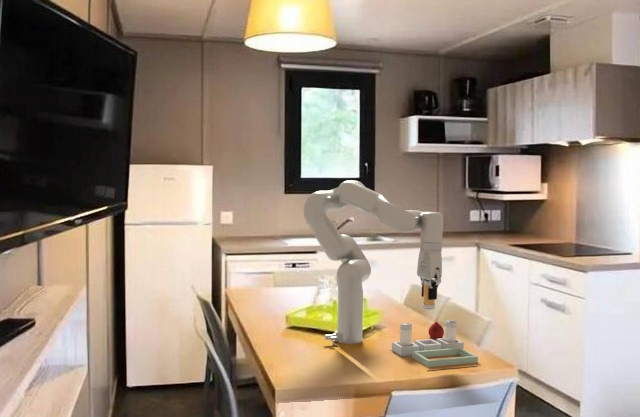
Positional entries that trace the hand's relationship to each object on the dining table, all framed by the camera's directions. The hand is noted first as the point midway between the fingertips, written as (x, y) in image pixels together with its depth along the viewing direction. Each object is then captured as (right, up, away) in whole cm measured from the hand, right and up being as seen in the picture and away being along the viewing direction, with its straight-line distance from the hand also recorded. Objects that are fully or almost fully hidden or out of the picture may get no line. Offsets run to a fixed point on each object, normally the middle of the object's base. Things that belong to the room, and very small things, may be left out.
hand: (429, 297), depth 218 cm
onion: (+6, -20, +19) cm, 28 cm away
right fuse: (+8, -19, +4) cm, 21 cm away
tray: (+3, -21, -10) cm, 24 cm away
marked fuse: (0, -4, 0) cm, 4 cm away
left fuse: (-9, -19, -2) cm, 21 cm away
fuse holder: (0, -21, +1) cm, 21 cm away
